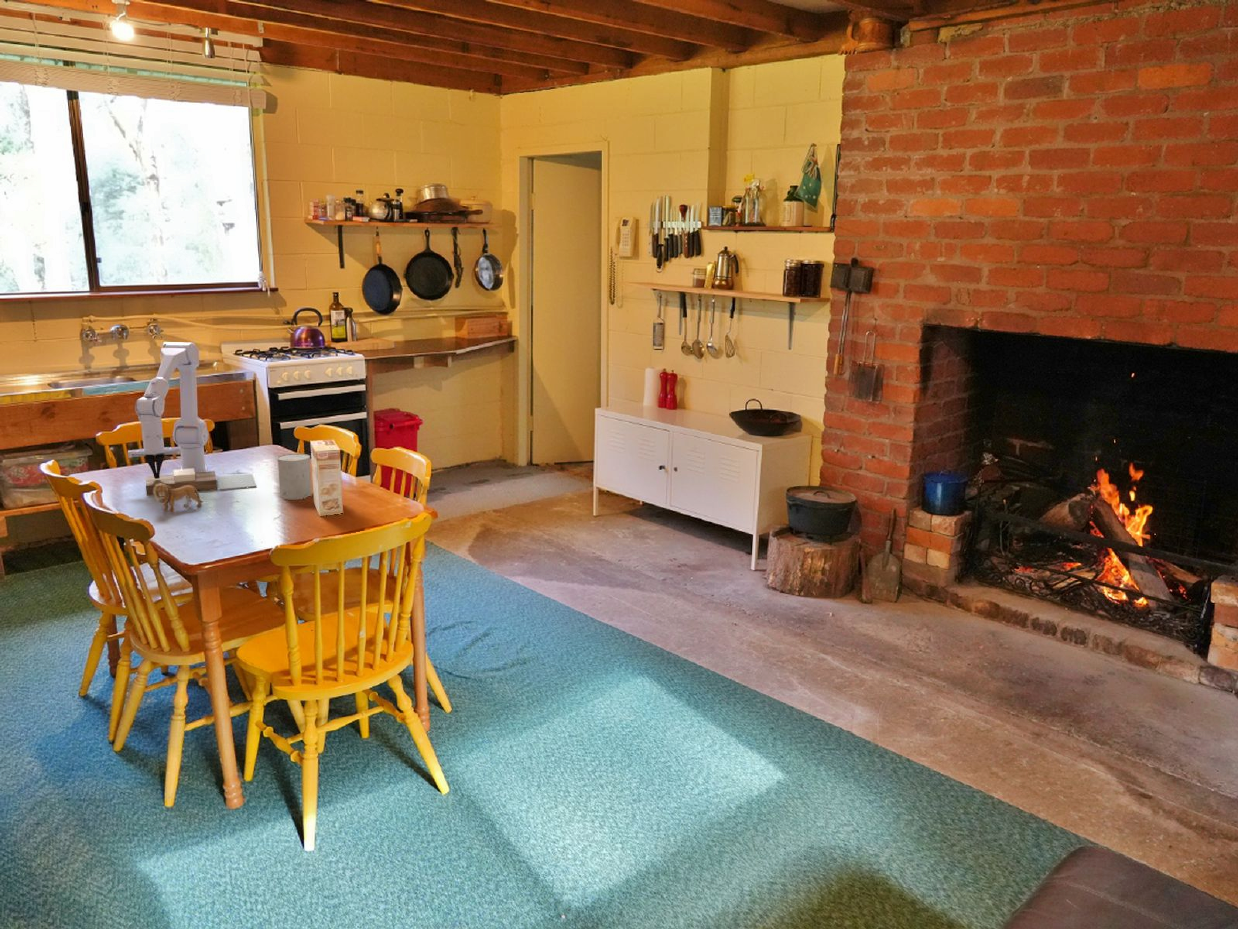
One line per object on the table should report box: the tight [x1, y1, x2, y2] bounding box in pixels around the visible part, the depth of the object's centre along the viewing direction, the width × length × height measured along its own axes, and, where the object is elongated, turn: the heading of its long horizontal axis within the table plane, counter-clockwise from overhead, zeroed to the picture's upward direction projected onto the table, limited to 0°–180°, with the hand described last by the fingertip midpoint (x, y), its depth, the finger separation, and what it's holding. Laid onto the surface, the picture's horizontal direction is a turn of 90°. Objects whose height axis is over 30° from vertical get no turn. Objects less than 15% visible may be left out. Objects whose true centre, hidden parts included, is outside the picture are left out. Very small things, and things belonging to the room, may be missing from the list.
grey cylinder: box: [277, 453, 313, 501], centre depth 289 cm, size 10×10×12 cm
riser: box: [145, 470, 218, 496], centre depth 296 cm, size 12×20×3 cm, turn 115°
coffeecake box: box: [310, 439, 344, 517], centre depth 275 cm, size 15×7×20 cm, turn 23°
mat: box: [216, 473, 257, 491], centre depth 303 cm, size 16×11×1 cm
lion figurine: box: [153, 483, 204, 514], centre depth 273 cm, size 15×5×9 cm, turn 147°
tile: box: [173, 468, 195, 482], centre depth 296 cm, size 8×6×2 cm
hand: (157, 477), depth 293 cm, fingers closed
